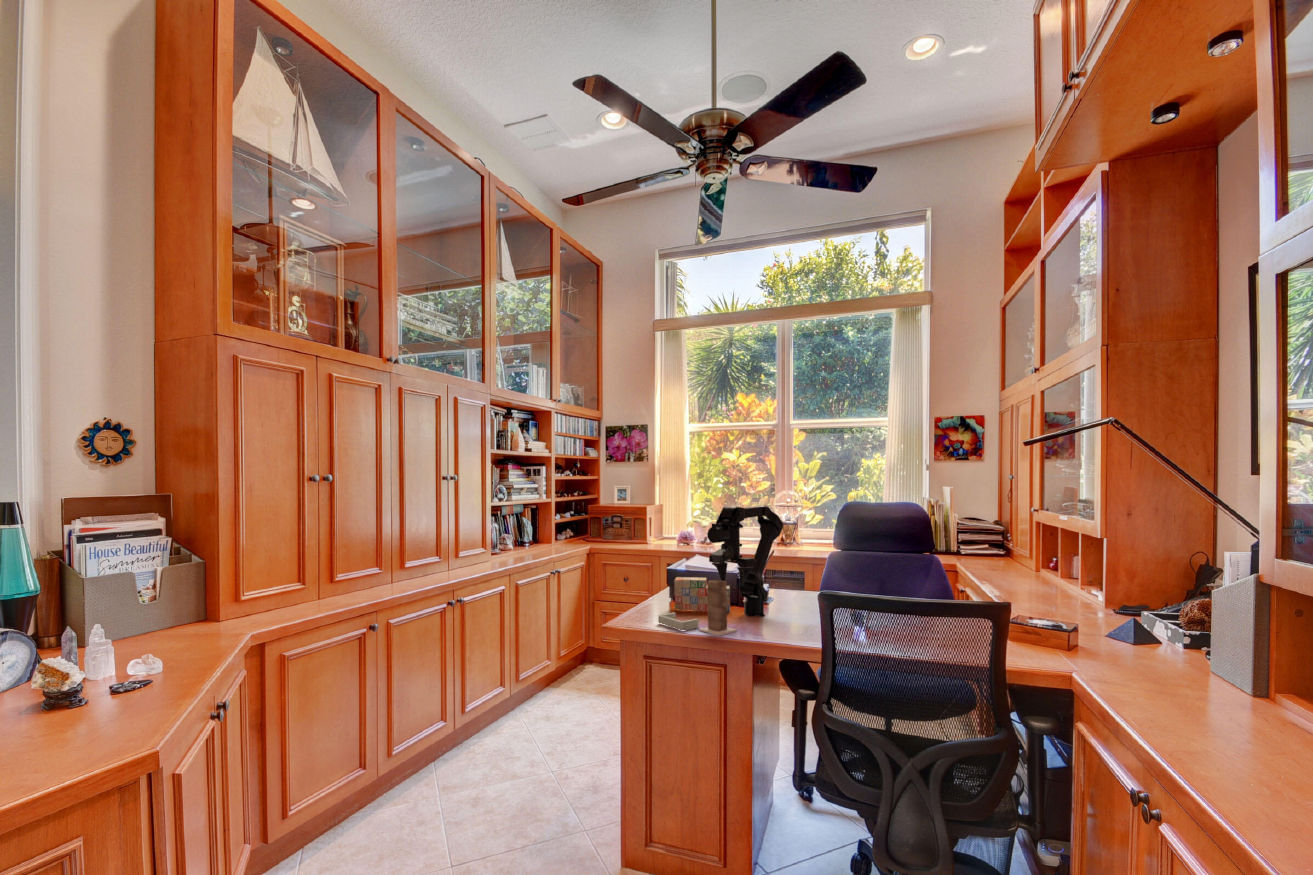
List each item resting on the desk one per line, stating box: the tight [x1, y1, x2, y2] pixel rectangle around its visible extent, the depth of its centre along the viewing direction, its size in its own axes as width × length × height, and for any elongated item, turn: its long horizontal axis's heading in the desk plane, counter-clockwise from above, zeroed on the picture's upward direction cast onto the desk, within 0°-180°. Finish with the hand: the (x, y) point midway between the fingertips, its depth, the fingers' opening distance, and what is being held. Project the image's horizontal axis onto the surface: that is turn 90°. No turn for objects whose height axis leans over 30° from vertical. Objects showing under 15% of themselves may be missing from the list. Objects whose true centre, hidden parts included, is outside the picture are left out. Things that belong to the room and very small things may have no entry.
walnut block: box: [707, 579, 728, 632], centre depth 193 cm, size 4×4×16 cm
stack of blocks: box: [673, 576, 731, 614], centre depth 224 cm, size 21×6×12 cm, turn 80°
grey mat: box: [698, 626, 737, 637], centre depth 193 cm, size 9×9×1 cm
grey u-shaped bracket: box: [657, 611, 699, 631], centre depth 199 cm, size 7×13×3 cm, turn 39°
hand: (732, 584), depth 208 cm, fingers open, 9 cm apart
